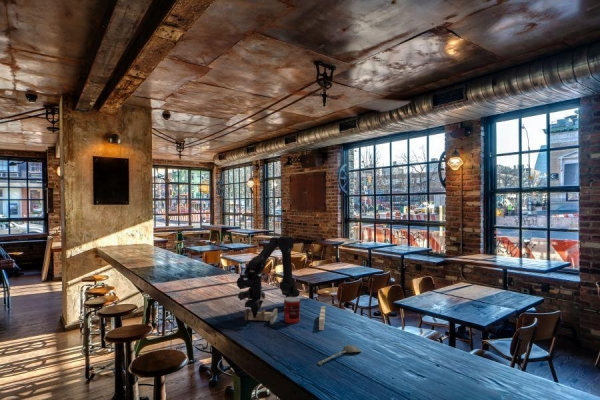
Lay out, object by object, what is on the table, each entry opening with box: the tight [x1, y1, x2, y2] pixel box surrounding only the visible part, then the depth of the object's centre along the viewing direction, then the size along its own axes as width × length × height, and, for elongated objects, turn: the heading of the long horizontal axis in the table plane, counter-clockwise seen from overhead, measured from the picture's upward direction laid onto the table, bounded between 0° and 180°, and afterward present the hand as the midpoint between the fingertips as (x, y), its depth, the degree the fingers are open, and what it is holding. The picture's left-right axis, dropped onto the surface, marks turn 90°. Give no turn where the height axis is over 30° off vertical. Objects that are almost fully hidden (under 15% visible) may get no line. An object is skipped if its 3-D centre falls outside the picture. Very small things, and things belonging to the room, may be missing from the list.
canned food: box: [283, 296, 301, 325], centre depth 174 cm, size 8×8×11 cm
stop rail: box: [318, 305, 326, 331], centre depth 172 cm, size 20×2×5 cm, turn 174°
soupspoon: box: [317, 344, 362, 366], centre depth 135 cm, size 22×3×7 cm
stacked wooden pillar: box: [244, 308, 278, 325], centre depth 176 cm, size 15×12×4 cm
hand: (255, 316), depth 176 cm, fingers closed on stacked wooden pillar, 2 cm apart
